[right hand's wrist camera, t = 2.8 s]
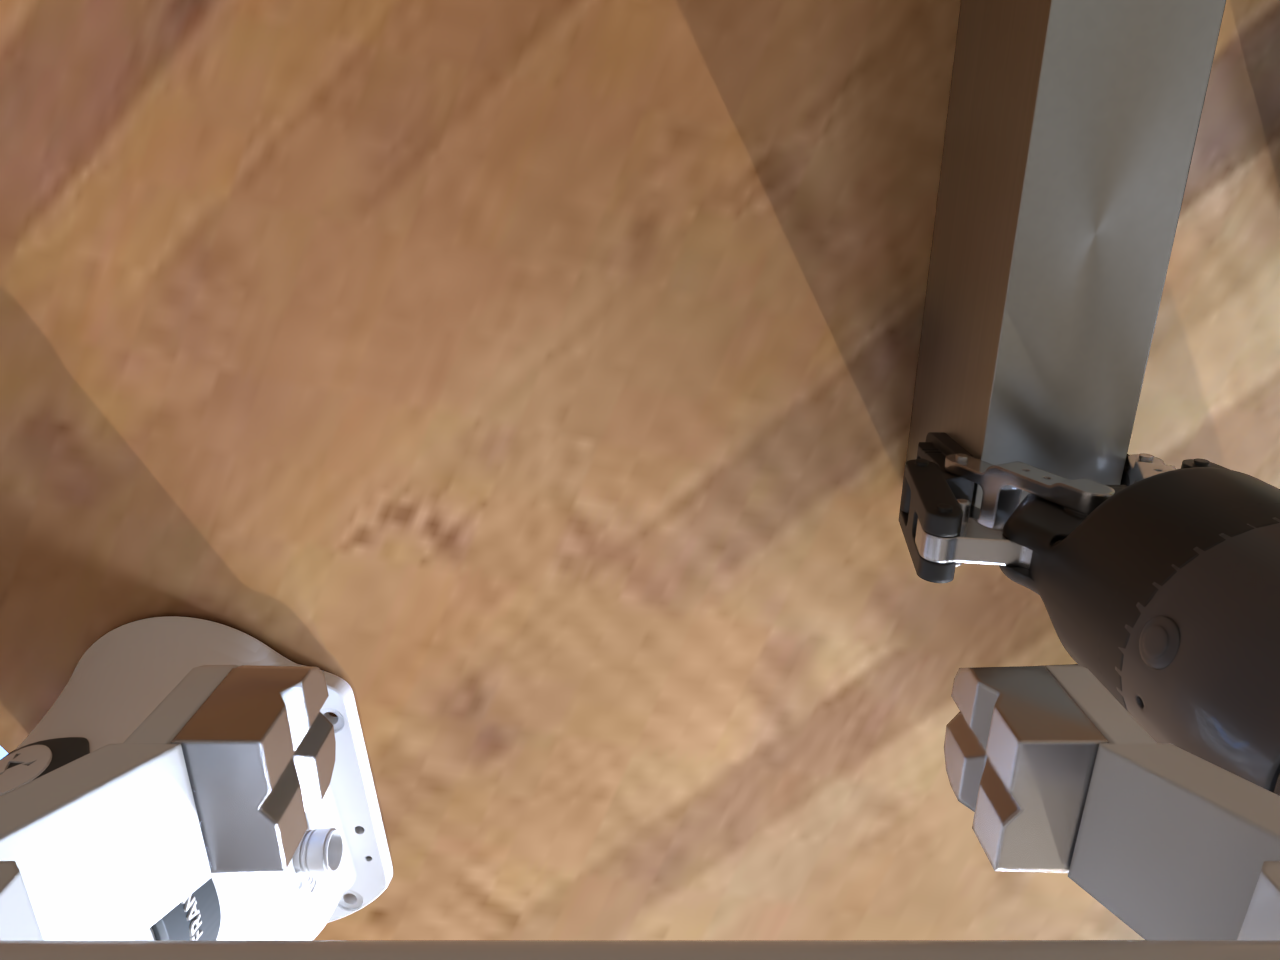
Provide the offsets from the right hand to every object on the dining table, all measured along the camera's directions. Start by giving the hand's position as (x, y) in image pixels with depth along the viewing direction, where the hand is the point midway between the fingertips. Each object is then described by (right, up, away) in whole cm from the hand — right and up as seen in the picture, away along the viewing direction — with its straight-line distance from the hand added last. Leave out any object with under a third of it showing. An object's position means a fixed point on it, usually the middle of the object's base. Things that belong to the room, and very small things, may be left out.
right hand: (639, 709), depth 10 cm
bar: (+16, +15, +27) cm, 34 cm away
